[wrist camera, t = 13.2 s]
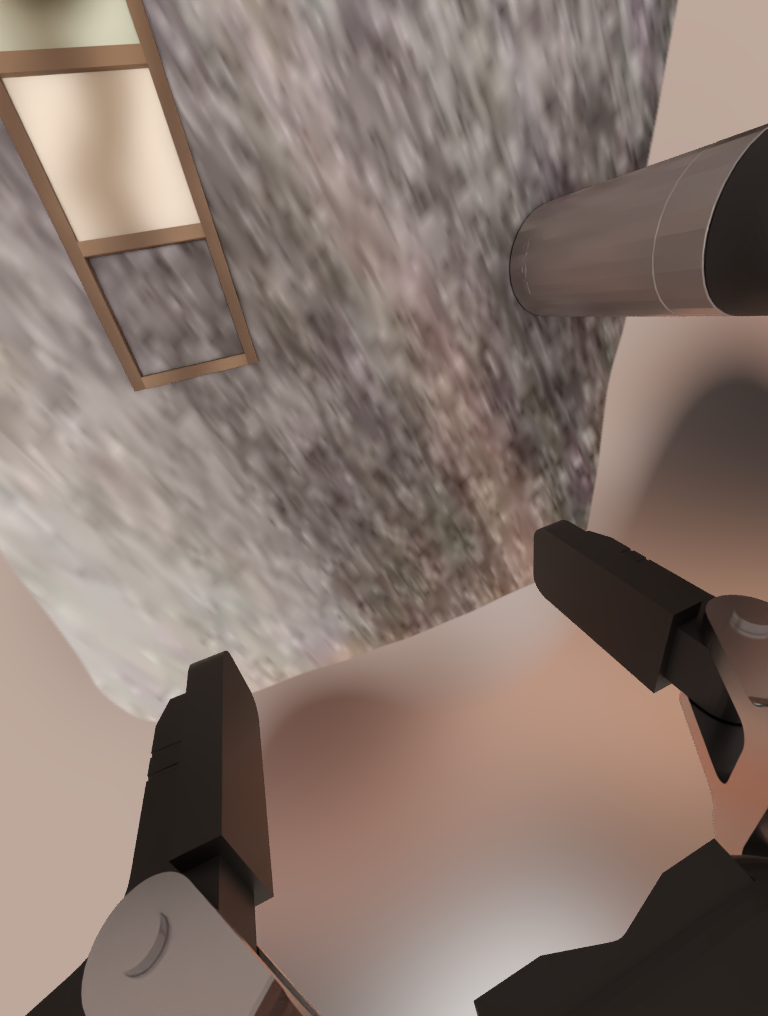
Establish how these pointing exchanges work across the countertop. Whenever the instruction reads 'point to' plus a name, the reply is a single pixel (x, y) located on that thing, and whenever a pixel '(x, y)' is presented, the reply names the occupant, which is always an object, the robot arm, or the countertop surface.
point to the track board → (106, 148)
